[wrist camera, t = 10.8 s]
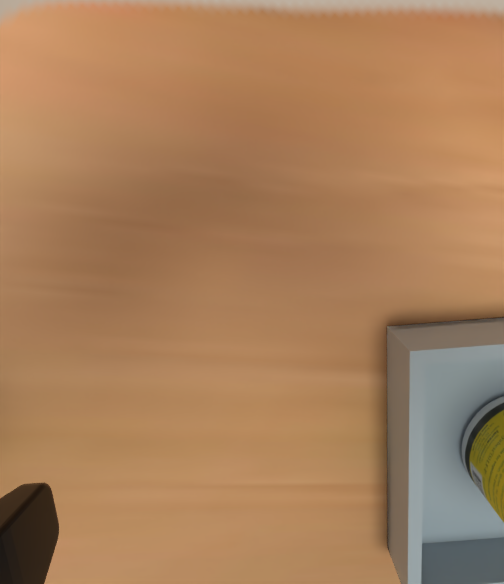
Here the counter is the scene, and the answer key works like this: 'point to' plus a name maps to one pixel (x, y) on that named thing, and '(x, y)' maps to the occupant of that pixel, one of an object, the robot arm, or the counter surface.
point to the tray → (441, 451)
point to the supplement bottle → (487, 453)
